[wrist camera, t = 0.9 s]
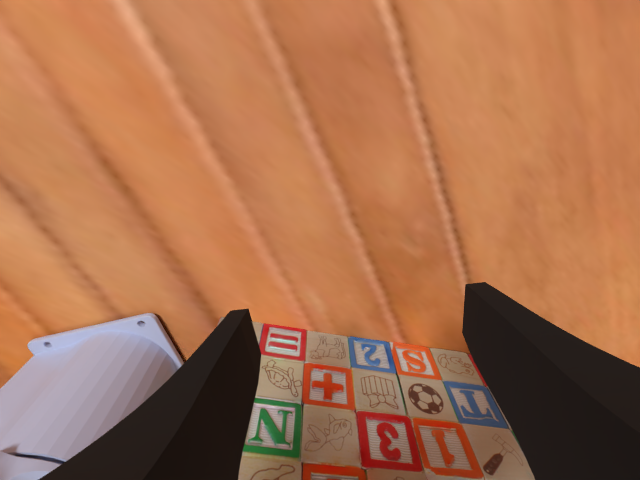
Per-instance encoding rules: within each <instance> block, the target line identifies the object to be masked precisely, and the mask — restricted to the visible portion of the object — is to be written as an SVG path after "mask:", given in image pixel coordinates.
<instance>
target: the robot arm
mask: <svg viewBox="0 0 640 480" xmlns="http://www.w3.org/2000/svg"><path fill="white" fill-rule="evenodd" d="M141 321H143V322H145V323H143V322H141ZM462 333H463V336H464V338H465V341H466V343H467V346H468V349H469V351H470V353H471V356H472V358H473V360H474V362H475V364H476V366H477V368H478V370H479V372H480V373H481V375H482V377H483V379H484V381H485V382H486V384H487V386H488V388H489V390H490V391H491V393H492V395H493V397H494V398H495V400H496V402H497V404H498V405H499V407H500V409H501V411H502V413H503V414H504V416H505V418H506V420H507V421H508V423H509V425H510V427H511V429H512V431H513V433H514V434H515V436H516V438H517V440H518V442H519V444H520V447H521V449H522V451H523V453H524V456H525V458H526V460H527V462H528V464H529V467H530V469H531V471H532V473H533V476H534V478H535V480H640V368H639V367H637V366H635V365H632V364H630V363H628V362H626V361H624V360H621V359H619V358H617V357H615V356H613V355H611V354H609V353H607V352H605V351H602V350H600V349H598V348H596V347H594V346H592V345H590V344H588V343H586V342H584V341H583V340H581V339H579V338H577V337H575V336H573V335H572V334H570V333H568V332H566V331H564V330H562V329H561V328H559V327H557V326H555V325H554V324H552V323H550V322H548V321H547V320H545V319H543V318H542V317H540V316H538V315H537V314H535V313H534V312H532V311H530V310H529V309H527V308H525V307H524V306H522V305H521V304H519V303H517V302H516V301H514V300H513V299H511V298H510V297H508V296H506V295H505V294H503V293H502V292H500V291H499V290H497V289H495V288H494V287H492V286H491V285H489V284H487V283H485V282H482V283H473V284H466V286H465V301H464V316H463V331H462ZM28 348H29V350H30V351H31V352H32V353H33V354H34V356H33V357H32V358H31V359H30V360H29V361H28V362H27V363H26V364H25V365H24V366H23V367H22V368H21V369H20V370H19V371H18V372H17V373H16V374H15V375H14V376H13V377H12V378H11V379H10V380H9V381H8V382H7V383H6V384H5V385H4V386H3V387H2V388H1V389H0V480H238V476H239V469H240V463H241V458H242V453H243V448H244V443H245V439H246V435H247V431H248V426H249V422H250V418H251V413H252V409H253V405H254V400H255V396H256V391H257V387H258V382H259V373H260V363H261V351H260V347H259V344H258V340H257V337H256V334H255V330H254V327H253V323H252V320H251V316H250V313H249V309H242V310H233V311H230V312H229V313H228V314H227V315H226V317H225V318H224V319H223V320H222V321H221V322H220V324H219V325H218V326H217V327H216V328H215V329H214V331H213V332H212V333H211V334H210V335H209V336H208V338H207V339H206V340H205V341H204V342H203V343H202V344H201V346H200V347H199V348H198V349H197V350H196V351H195V352H194V353H193V354H192V356H191V357H190V358H189V359H188V360H187V361H186V362H185V363H184V362H183V360H182V359H181V357H180V355H179V353H178V352H177V350H176V348H175V347H174V345H173V343H172V341H171V340H170V338H169V336H168V335H167V333H166V331H165V330H164V328H163V326H162V324H161V323H160V321H159V319H158V318H157V316H156V315H154V314H152V313H146V314H141V315H137V316H133V317H128V318H124V319H119V320H115V321H110V322H106V323H102V324H97V325H93V326H88V327H84V328H80V329H75V330H71V331H66V332H62V333H58V334H53V335H49V336H44V337H40V338H35V339H33V340H31V341H30V342H29V343H28Z"/></svg>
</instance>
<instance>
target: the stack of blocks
mask: <svg viewBox="0 0 640 480" xmlns="http://www.w3.org/2000/svg"><path fill="white" fill-rule="evenodd" d="M224 318H225V317H221V318H220V320H219V322H218V325H219V324H220V322H221V321H222V320H223V319H224ZM252 323H253V327H254V330H255V334H256V337H257V340H258V344H259V347H260V351H261V363H260V373H259V382H258V387H257V391H256V396H255V400H254V405H253V409H252V413H251V418H250V422H249V426H248V431H247V435H246V439H245V443H244V448H243V453H242V458H241V463H240V469H239V476H238V480H535V478H534V476H533V473H532V471H531V469H530V467H529V464H528V462H527V460H526V458H525V456H524V453H523V451H522V449H521V447H520V444H519V442H518V440H517V438H516V436H515V434H514V433H513V431H512V429H511V427H510V425H509V423H508V421H507V420H506V418H505V416H504V414H503V413H502V411H501V409H500V407H499V405H498V404H497V402H496V400H495V398H494V397H493V395H492V393H491V391H490V390H489V388H488V386H487V384H486V382H485V381H484V379H483V377H482V375H481V373H480V372H479V370H478V368H477V366H476V364H475V362H474V360H473V358H472V356H471V354H468V355H467V354H466V353H465V352H458V351H452V350H445V349H438V348H427V347H423V346H417V345H411V344H404V343H397V342H389V343H388V342H385V341H378V340H371V339H364V338H357V337H346V336H342V335H335V334H328V333H320V332H313V331H307V330H305V329H298V328H292V327H285V326H278V325H271V324H263V323H259V322H252ZM218 325H217V326H218Z"/></svg>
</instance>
